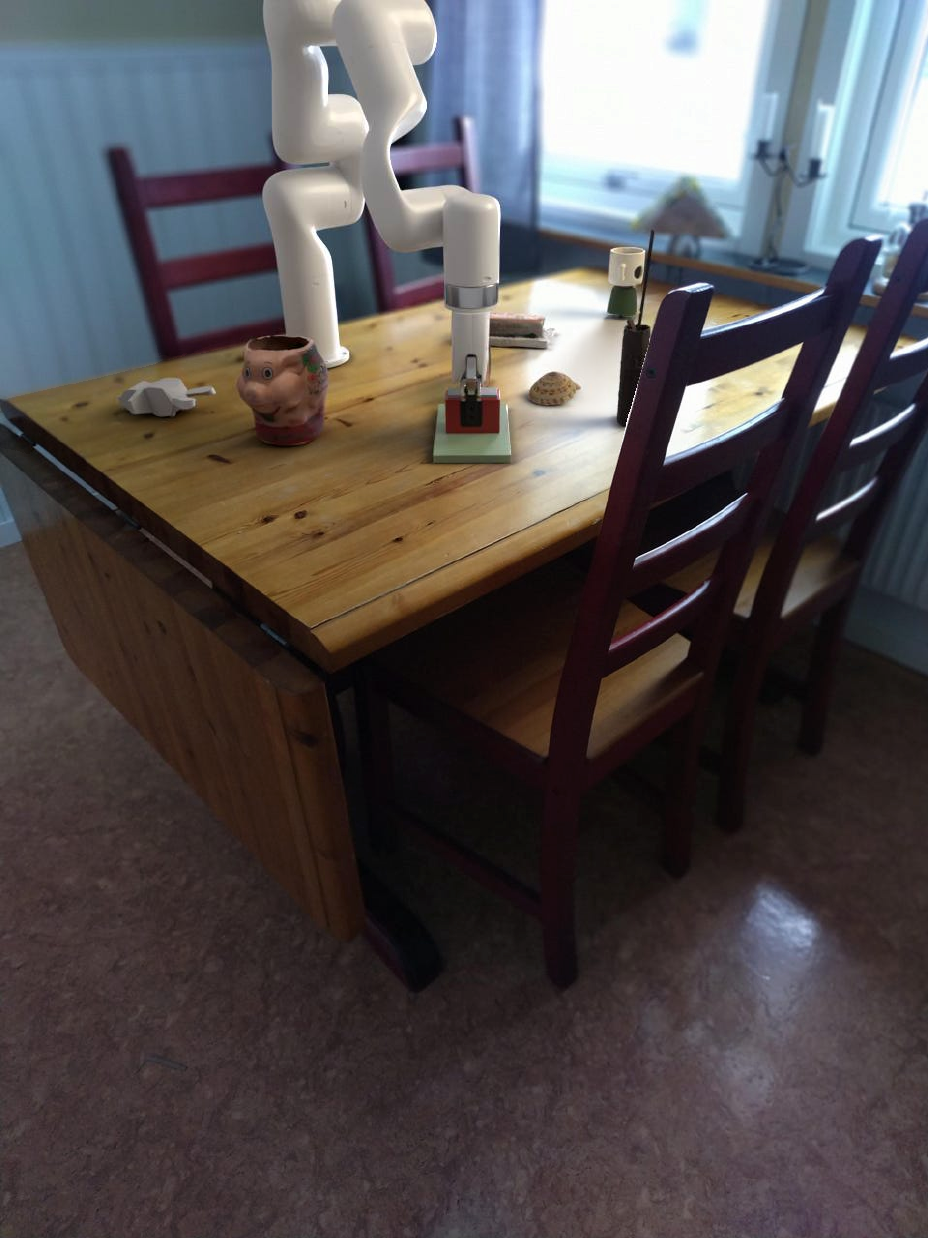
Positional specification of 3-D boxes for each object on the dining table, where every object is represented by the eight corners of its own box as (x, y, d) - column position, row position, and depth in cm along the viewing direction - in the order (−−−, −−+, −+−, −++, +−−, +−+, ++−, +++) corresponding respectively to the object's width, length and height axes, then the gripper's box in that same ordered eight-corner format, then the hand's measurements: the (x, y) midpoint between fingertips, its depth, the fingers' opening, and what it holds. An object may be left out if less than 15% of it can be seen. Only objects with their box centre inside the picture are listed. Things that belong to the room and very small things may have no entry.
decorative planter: (280, 404, 140) (268, 318, 132) (351, 409, 138) (343, 322, 130) (229, 454, 124) (212, 359, 116) (309, 460, 122) (297, 364, 114)
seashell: (592, 381, 141) (566, 374, 135) (582, 415, 142) (556, 409, 136) (552, 370, 145) (526, 363, 139) (543, 403, 147) (516, 397, 141)
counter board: (433, 463, 120) (433, 455, 120) (438, 410, 137) (438, 403, 136) (510, 462, 120) (510, 454, 120) (506, 410, 137) (506, 403, 136)
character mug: (633, 323, 175) (640, 257, 168) (599, 321, 177) (605, 254, 170) (642, 310, 184) (649, 245, 176) (610, 307, 186) (615, 243, 178)
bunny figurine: (139, 373, 141) (215, 371, 136) (149, 403, 144) (224, 402, 139) (102, 392, 134) (181, 391, 129) (113, 423, 136) (191, 424, 131)
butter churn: (595, 408, 137) (610, 219, 121) (654, 408, 137) (677, 219, 121) (601, 430, 129) (617, 232, 113) (663, 430, 129) (689, 232, 113)
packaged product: (455, 318, 163) (467, 305, 171) (455, 344, 165) (467, 329, 173) (548, 323, 159) (556, 309, 167) (547, 349, 162) (554, 334, 170)
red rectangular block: (499, 433, 126) (500, 396, 123) (445, 433, 126) (444, 396, 123) (498, 422, 130) (499, 385, 126) (446, 422, 130) (445, 385, 126)
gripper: (446, 279, 124) (448, 392, 134) (442, 312, 110) (444, 436, 120) (497, 278, 124) (495, 392, 134) (500, 312, 110) (497, 436, 120)
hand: (471, 413), depth 127 cm, fingers open, 9 cm apart
